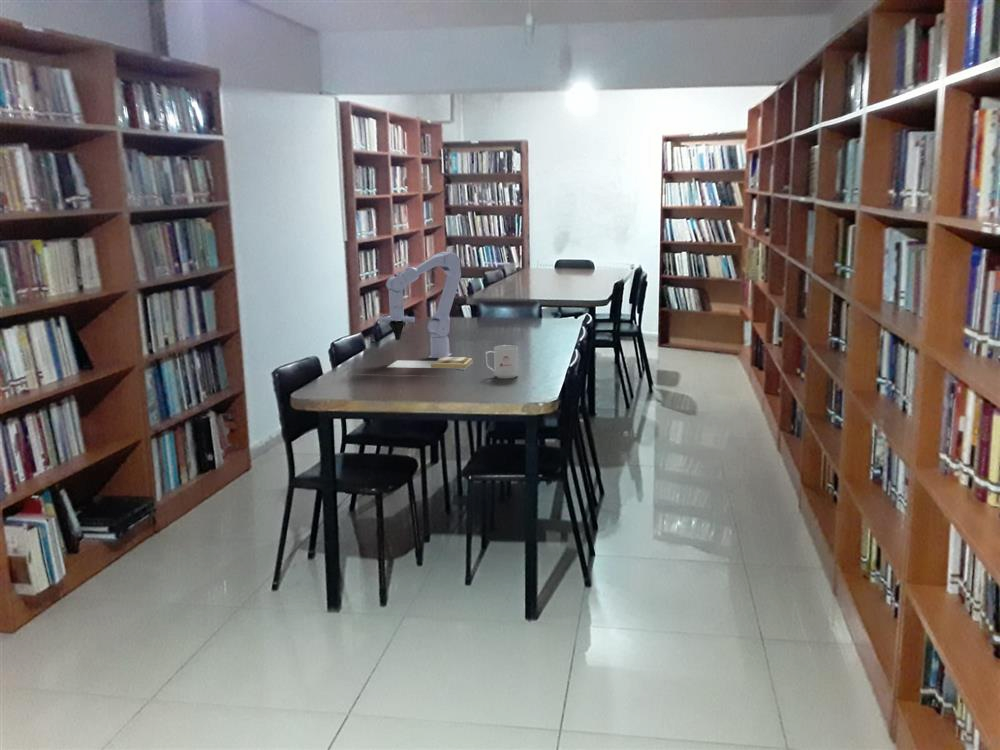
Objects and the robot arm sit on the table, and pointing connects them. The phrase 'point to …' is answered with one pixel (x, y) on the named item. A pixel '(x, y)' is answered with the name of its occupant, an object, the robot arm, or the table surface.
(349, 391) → the table surface
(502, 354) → the mug
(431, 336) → the robot arm
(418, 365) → the board
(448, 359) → the beige flat block
